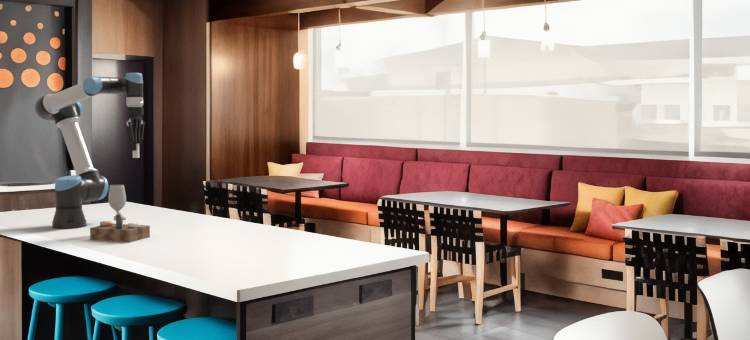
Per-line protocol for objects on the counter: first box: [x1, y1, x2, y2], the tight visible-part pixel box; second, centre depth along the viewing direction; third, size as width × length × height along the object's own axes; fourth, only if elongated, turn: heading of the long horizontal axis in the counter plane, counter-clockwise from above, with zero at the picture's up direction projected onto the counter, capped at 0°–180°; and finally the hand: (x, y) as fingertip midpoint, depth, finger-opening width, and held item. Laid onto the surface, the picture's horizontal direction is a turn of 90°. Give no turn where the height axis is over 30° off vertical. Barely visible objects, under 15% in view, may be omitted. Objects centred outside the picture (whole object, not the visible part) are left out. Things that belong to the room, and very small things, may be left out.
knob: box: [127, 222, 141, 228], centre depth 364 cm, size 5×5×6 cm
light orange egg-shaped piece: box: [99, 220, 113, 227], centre depth 368 cm, size 5×5×6 cm
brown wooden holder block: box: [89, 223, 151, 243], centre depth 366 cm, size 20×14×5 cm
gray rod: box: [115, 211, 122, 229], centre depth 359 cm, size 2×2×7 cm
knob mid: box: [113, 214, 127, 227], centre depth 366 cm, size 5×5×6 cm
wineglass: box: [107, 184, 127, 214], centre depth 384 cm, size 8×8×21 cm
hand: (136, 157), depth 396 cm, fingers closed
